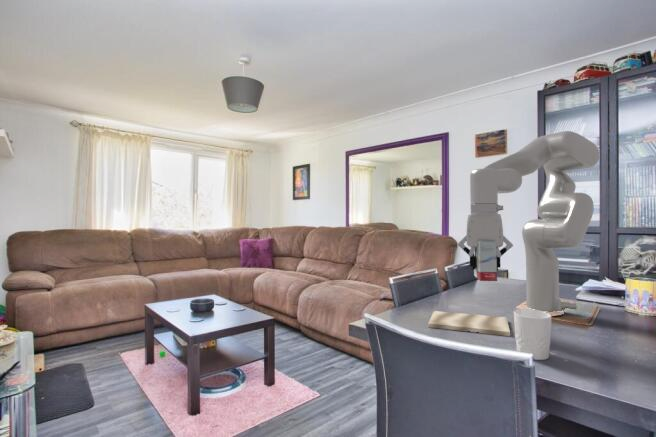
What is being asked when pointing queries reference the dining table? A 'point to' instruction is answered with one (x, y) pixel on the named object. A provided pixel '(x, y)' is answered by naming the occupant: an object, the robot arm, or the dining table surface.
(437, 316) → the birch board
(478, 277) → the ink box
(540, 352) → the white cup
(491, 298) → the dining table surface
